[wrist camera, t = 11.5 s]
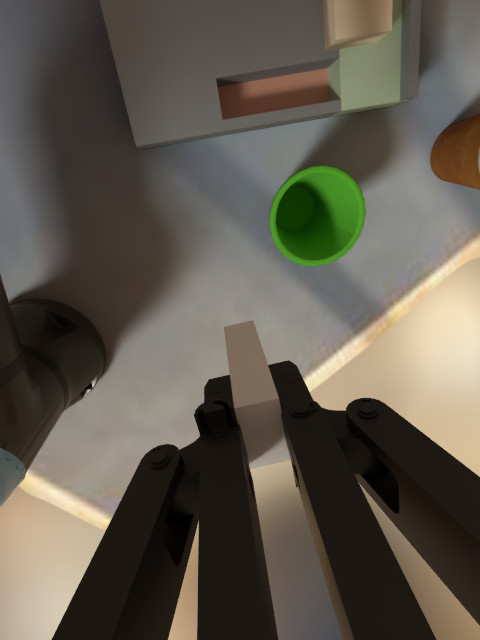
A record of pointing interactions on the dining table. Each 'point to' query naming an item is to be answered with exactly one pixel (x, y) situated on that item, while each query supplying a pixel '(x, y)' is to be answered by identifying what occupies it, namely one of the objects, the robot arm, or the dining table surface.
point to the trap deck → (249, 66)
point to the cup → (317, 215)
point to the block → (355, 22)
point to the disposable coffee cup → (458, 153)
